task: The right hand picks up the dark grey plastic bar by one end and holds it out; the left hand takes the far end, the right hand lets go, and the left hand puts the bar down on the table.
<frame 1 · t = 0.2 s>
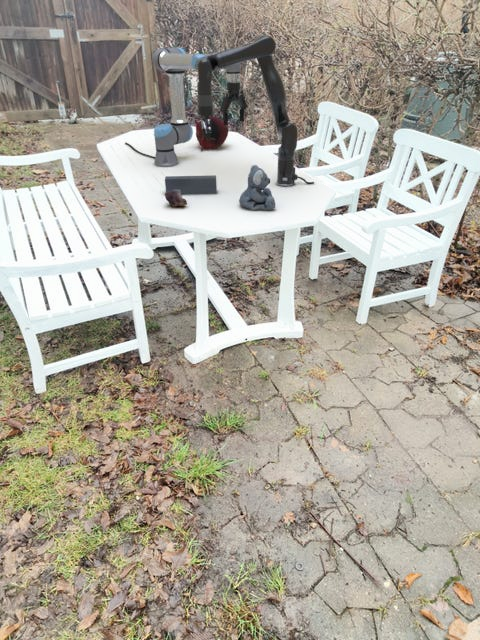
left hand: (233, 123, 259), 29 cm above the table, tool pointing down, fingers open, 13 cm apart
right hand: (206, 138, 231), 28 cm above the table, tool pointing down, fingers open, 8 cm apart
rock: (175, 205, 231), on the table
koala plush: (256, 206, 229), on the table
bar: (191, 192, 247), on the table
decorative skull: (212, 147, 329), on the table
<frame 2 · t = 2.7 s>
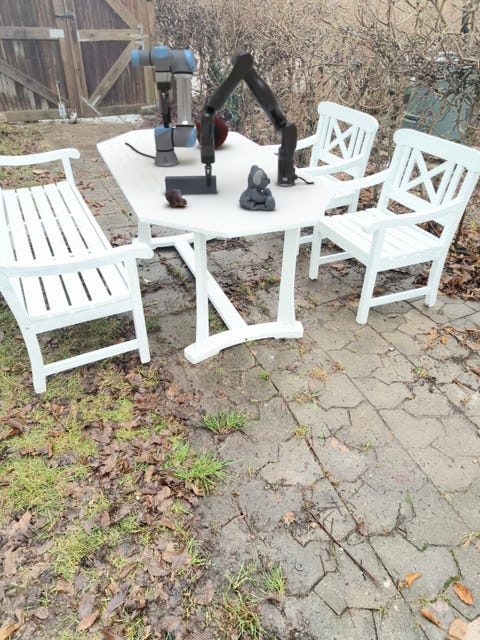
left hand: (167, 125, 243), 31 cm above the table, tool pointing down, fingers open, 13 cm apart
right hand: (209, 185, 245), 4 cm above the table, tool pointing down, fingers closed on bar, 5 cm apart
bar: (191, 192, 247), on the table, touching right hand
everything else where it was.
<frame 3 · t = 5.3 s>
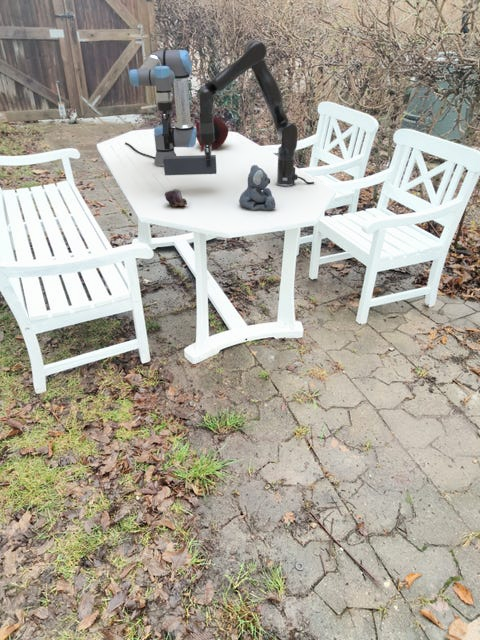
left hand: (168, 146, 236), 24 cm above the table, tool pointing down, fingers open, 13 cm apart
right hand: (208, 165, 239), 15 cm above the table, tool pointing down, fingers closed on bar, 5 cm apart
bar: (190, 173, 241), point 11 cm above the table, touching right hand
everything else where it was.
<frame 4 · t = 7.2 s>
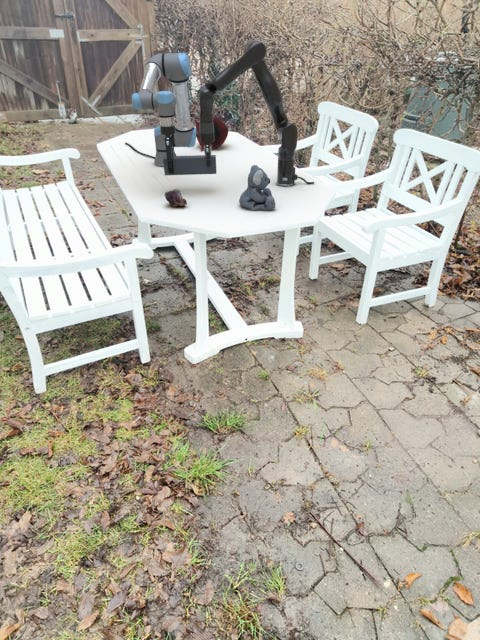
left hand: (171, 171, 240), 12 cm above the table, tool pointing down, fingers closed on bar, 5 cm apart
right hand: (208, 165, 239), 15 cm above the table, tool pointing down, fingers closed on bar, 5 cm apart
bar: (190, 173, 241), point 11 cm above the table, touching left hand, right hand
everything else where it was.
when the right hand's fingers open (15 cm above the table, at t = 8.1 s): bar stays where it is, held by the left hand.
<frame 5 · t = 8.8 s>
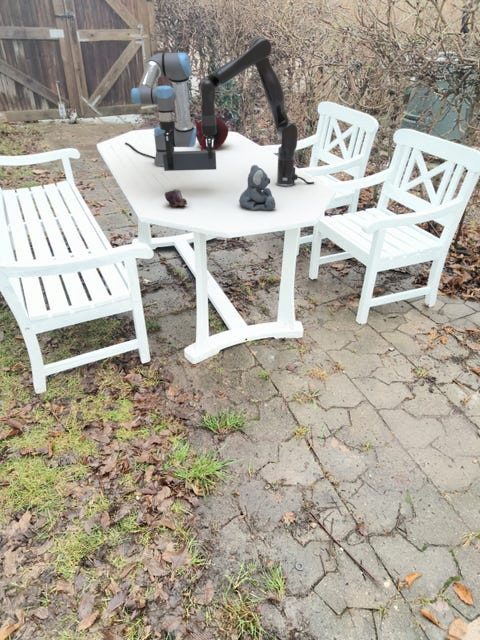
left hand: (171, 167, 239), 14 cm above the table, tool pointing down, fingers closed on bar, 5 cm apart
right hand: (210, 156, 237), 19 cm above the table, tool pointing down, fingers open, 8 cm apart
bar: (190, 168, 240), point 13 cm above the table, touching left hand
everything else where it was.
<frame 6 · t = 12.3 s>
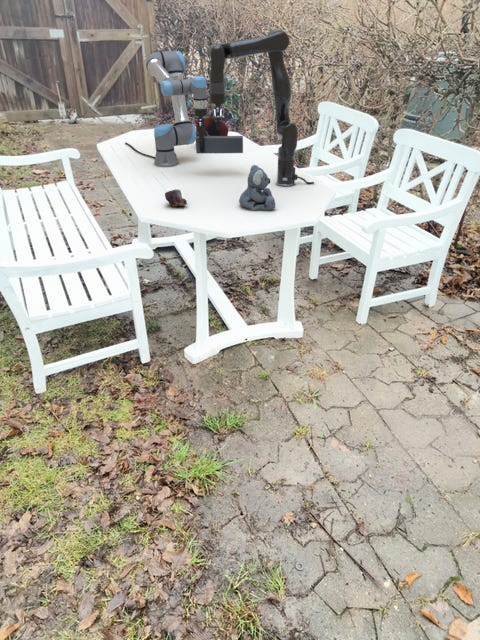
left hand: (202, 150, 266), 14 cm above the table, tool pointing down, fingers closed on bar, 5 cm apart
right hand: (218, 127, 228), 33 cm above the table, tool pointing down, fingers open, 8 cm apart
bar: (219, 152, 266), point 13 cm above the table, touching left hand
everything else where it was.
when the left hand's fingers open (2 cm above the table, at t = 17.6 s): bar drops 1 cm, on the table.
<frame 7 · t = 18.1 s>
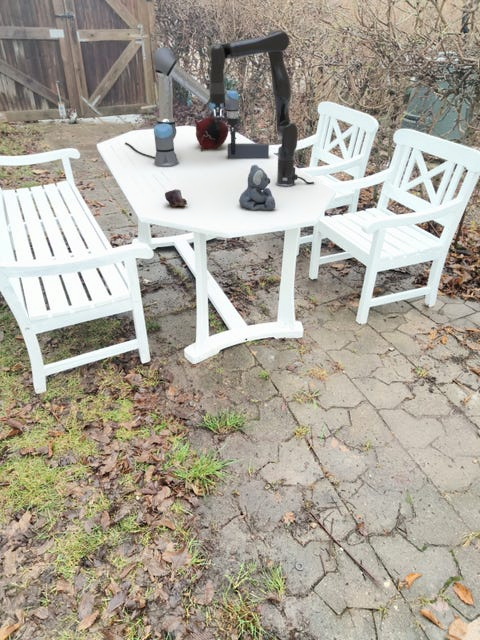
left hand: (233, 152, 304), 4 cm above the table, tool pointing down, fingers open, 12 cm apart
right hand: (218, 127, 228), 33 cm above the table, tool pointing down, fingers open, 8 cm apart
bar: (248, 157, 306), on the table
everything else where it was.
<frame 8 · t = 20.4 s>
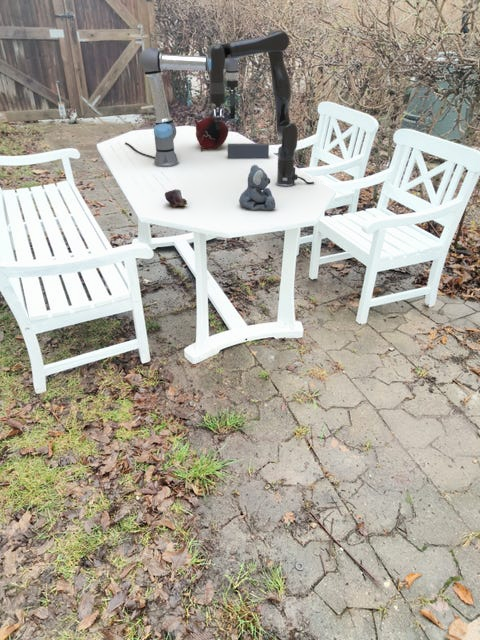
left hand: (232, 116, 291), 26 cm above the table, tool pointing down, fingers open, 13 cm apart
right hand: (218, 127, 228), 33 cm above the table, tool pointing down, fingers open, 8 cm apart
nothing on the table moved.
at the end: bar inside the target area (10.1 cm from its centre), on the table; the left hand is holding nothing; the right hand is holding nothing; bar at rest at the end (0.0 cm/s) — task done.
